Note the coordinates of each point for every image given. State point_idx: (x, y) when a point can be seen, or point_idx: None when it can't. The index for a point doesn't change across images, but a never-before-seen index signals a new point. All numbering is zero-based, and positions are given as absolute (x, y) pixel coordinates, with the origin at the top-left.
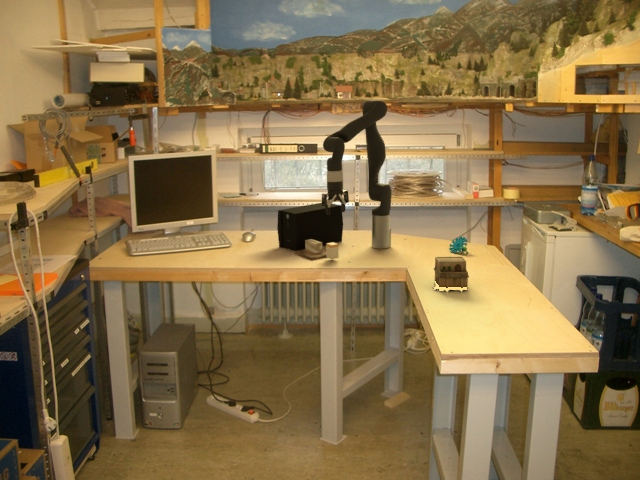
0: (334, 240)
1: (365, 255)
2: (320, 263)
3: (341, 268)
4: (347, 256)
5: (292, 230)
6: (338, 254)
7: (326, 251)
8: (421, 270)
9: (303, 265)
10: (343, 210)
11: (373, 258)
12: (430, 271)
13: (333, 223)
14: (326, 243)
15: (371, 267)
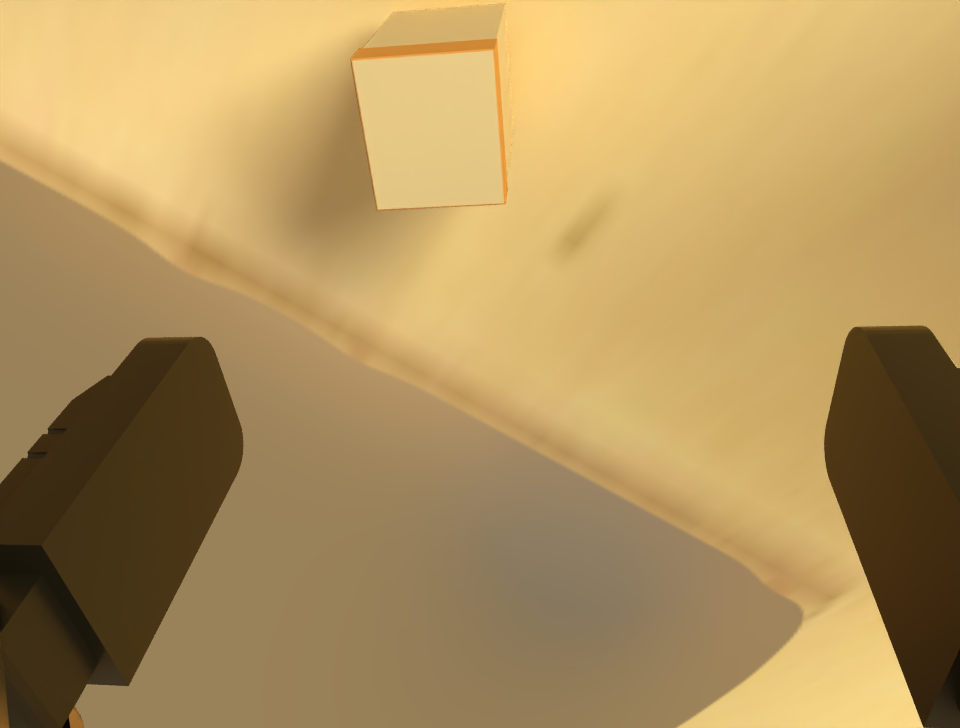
0: None
1: (944, 101)
2: (273, 101)
3: (394, 360)
4: (731, 4)
5: None
6: (510, 145)
7: (378, 33)
8: (866, 665)
9: (61, 62)
10: (840, 501)
11: (894, 261)
12: (888, 697)
13: None
14: (356, 61)
15: (636, 464)
